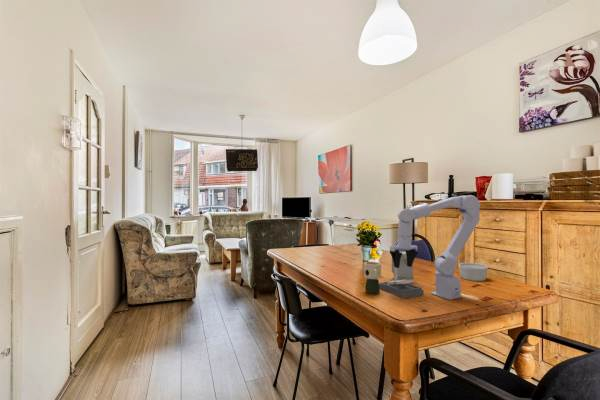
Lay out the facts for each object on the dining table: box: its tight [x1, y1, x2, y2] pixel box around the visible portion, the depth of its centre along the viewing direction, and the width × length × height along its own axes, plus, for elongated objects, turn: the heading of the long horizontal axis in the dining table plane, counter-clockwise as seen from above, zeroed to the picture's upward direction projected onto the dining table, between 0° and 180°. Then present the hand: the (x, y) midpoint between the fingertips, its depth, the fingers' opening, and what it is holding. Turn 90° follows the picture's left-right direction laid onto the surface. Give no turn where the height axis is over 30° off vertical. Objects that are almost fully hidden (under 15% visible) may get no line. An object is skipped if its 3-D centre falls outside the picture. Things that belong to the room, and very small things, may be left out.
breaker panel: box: [379, 279, 425, 299], centre depth 133 cm, size 16×11×3 cm
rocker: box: [386, 279, 415, 285], centre depth 133 cm, size 10×6×2 cm, turn 27°
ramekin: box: [458, 262, 489, 282], centre depth 154 cm, size 13×13×7 cm
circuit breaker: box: [391, 251, 415, 285], centre depth 149 cm, size 8×14×15 cm, turn 174°
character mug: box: [363, 261, 382, 294], centre depth 131 cm, size 11×7×13 cm, turn 2°
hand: (403, 267), depth 131 cm, fingers open, 7 cm apart
